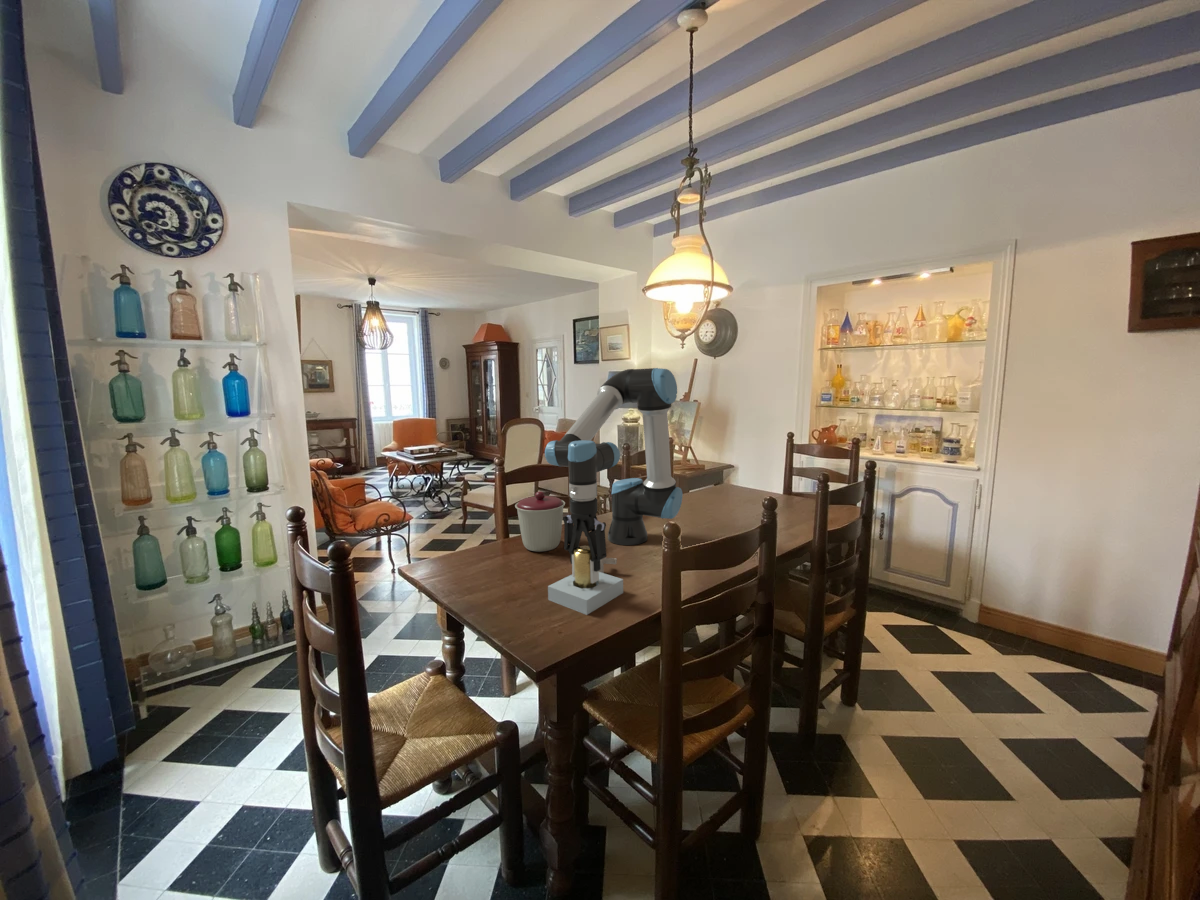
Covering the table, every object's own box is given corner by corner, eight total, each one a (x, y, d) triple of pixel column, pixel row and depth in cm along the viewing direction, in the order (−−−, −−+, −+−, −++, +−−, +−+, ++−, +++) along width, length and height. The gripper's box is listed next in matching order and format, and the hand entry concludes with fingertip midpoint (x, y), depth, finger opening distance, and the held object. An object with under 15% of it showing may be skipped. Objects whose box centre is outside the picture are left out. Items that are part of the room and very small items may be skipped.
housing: (585, 583, 144) (585, 567, 143) (623, 595, 136) (623, 579, 135) (548, 603, 132) (547, 586, 131) (586, 618, 123) (586, 600, 122)
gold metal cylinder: (584, 588, 138) (583, 543, 135) (601, 593, 134) (600, 547, 132) (570, 595, 133) (569, 549, 131) (587, 601, 129) (585, 554, 127)
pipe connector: (613, 583, 144) (613, 551, 142) (581, 581, 146) (580, 550, 144) (619, 570, 153) (618, 540, 152) (588, 568, 155) (588, 539, 154)
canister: (532, 560, 163) (529, 500, 160) (508, 545, 178) (505, 490, 175) (575, 548, 174) (574, 492, 171) (550, 535, 188) (548, 483, 185)
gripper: (548, 495, 132) (551, 574, 136) (602, 506, 120) (603, 592, 124) (567, 490, 138) (569, 566, 141) (619, 500, 126) (620, 582, 130)
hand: (585, 578), depth 133 cm, fingers closed on gold metal cylinder, 6 cm apart
